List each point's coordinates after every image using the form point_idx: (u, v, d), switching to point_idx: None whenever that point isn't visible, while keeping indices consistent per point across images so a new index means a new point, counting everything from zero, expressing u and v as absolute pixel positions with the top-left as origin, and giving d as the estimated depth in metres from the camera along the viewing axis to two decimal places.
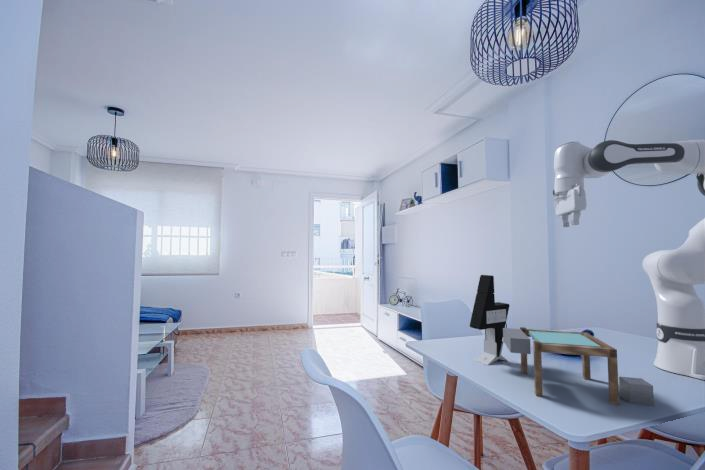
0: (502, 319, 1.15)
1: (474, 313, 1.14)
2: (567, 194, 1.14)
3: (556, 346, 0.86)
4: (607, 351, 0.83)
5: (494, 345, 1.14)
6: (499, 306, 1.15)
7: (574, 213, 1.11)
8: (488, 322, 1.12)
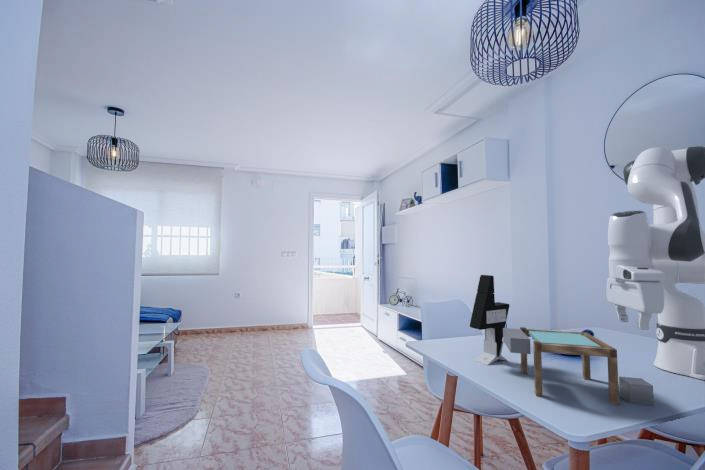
0: (502, 319, 1.15)
1: (474, 313, 1.14)
2: None
3: (556, 346, 0.86)
4: (607, 351, 0.83)
5: (494, 345, 1.14)
6: (499, 306, 1.15)
7: None
8: (488, 322, 1.12)
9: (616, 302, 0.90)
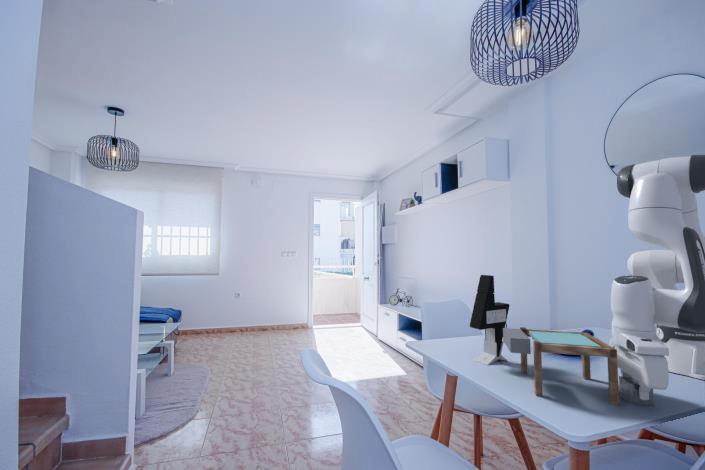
0: (502, 319, 1.15)
1: (474, 313, 1.14)
2: None
3: (556, 346, 0.86)
4: (607, 351, 0.83)
5: (494, 345, 1.14)
6: (499, 306, 1.15)
7: None
8: (488, 322, 1.12)
9: (619, 367, 0.89)
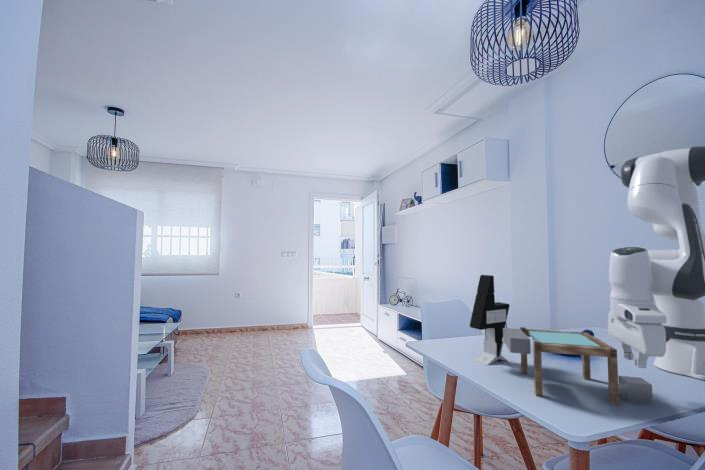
0: (502, 319, 1.15)
1: (474, 313, 1.14)
2: None
3: (556, 346, 0.86)
4: (607, 351, 0.83)
5: (494, 345, 1.14)
6: (499, 306, 1.15)
7: None
8: (488, 322, 1.12)
9: (618, 338, 0.89)
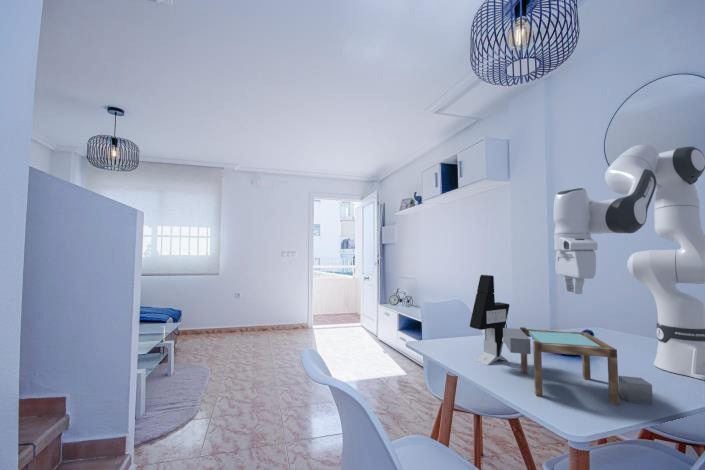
0: (502, 319, 1.15)
1: (474, 313, 1.14)
2: None
3: (556, 346, 0.86)
4: (607, 351, 0.83)
5: (494, 345, 1.14)
6: (499, 306, 1.15)
7: None
8: (488, 322, 1.12)
9: (561, 273, 0.98)
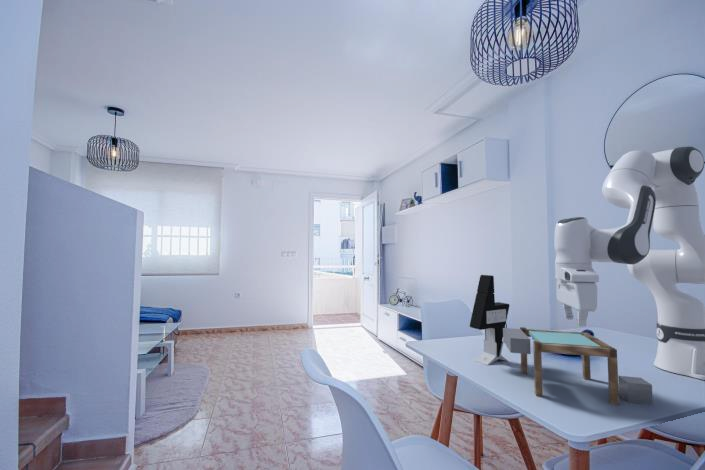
0: (502, 319, 1.15)
1: (474, 313, 1.14)
2: None
3: (556, 346, 0.86)
4: (607, 351, 0.83)
5: (494, 345, 1.14)
6: (499, 306, 1.15)
7: None
8: (488, 322, 1.12)
9: (562, 301, 0.97)
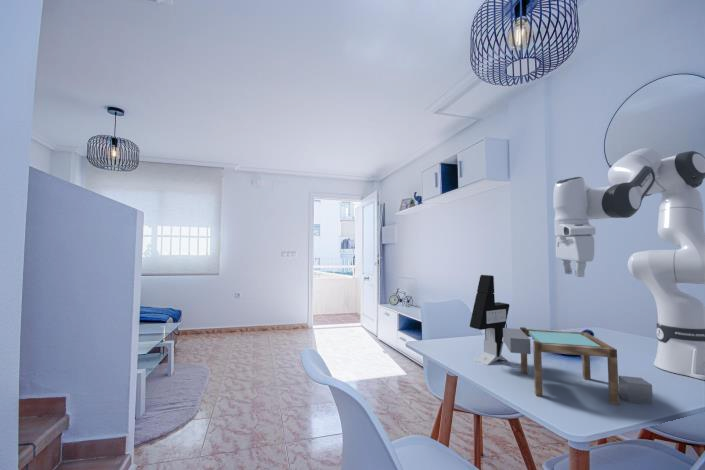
0: (502, 319, 1.15)
1: (474, 313, 1.14)
2: None
3: (556, 346, 0.86)
4: (607, 351, 0.83)
5: (494, 345, 1.14)
6: (499, 306, 1.15)
7: None
8: (488, 322, 1.12)
9: (561, 257, 1.04)
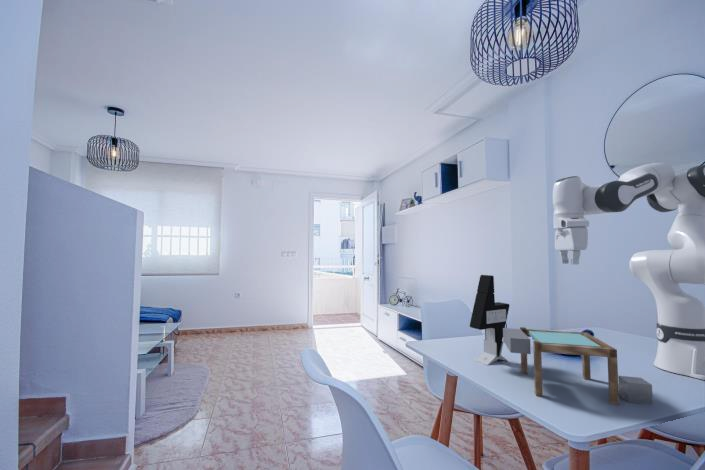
0: (502, 319, 1.15)
1: (474, 313, 1.14)
2: None
3: (556, 346, 0.86)
4: (607, 351, 0.83)
5: (494, 345, 1.14)
6: (499, 306, 1.15)
7: None
8: (488, 322, 1.12)
9: (559, 248, 1.16)
